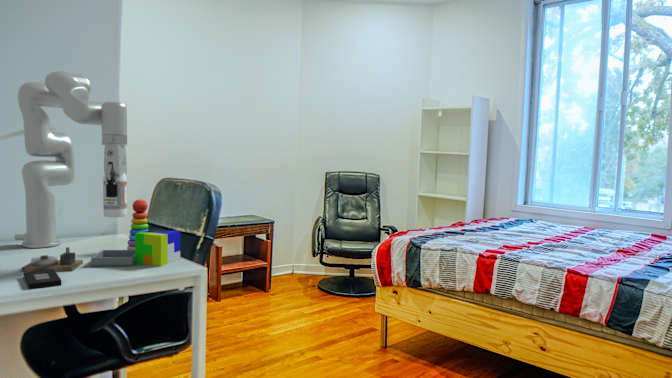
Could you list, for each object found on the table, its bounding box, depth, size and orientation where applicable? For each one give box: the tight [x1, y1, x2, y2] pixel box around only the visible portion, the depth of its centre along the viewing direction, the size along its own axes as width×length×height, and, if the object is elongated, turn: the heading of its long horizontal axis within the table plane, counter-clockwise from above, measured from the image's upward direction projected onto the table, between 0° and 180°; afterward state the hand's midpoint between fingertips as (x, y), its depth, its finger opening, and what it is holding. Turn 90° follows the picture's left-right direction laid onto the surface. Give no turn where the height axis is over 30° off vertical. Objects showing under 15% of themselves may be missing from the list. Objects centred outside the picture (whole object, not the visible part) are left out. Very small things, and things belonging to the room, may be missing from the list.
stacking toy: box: [126, 198, 150, 250], centre depth 184 cm, size 8×8×19 cm
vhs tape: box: [23, 269, 62, 290], centre depth 140 cm, size 8×14×2 cm, turn 36°
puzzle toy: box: [135, 228, 181, 267], centre depth 167 cm, size 10×10×10 cm
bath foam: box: [102, 173, 128, 218], centre depth 163 cm, size 7×7×20 cm
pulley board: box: [20, 246, 84, 273], centre depth 156 cm, size 14×10×6 cm
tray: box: [90, 249, 136, 268], centre depth 165 cm, size 12×12×3 cm
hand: (115, 195), depth 164 cm, fingers closed on bath foam, 7 cm apart
